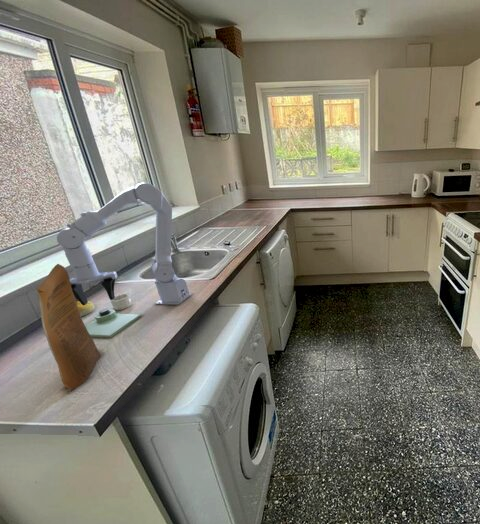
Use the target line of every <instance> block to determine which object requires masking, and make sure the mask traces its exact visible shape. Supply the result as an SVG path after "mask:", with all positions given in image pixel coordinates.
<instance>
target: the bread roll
mask: <svg viewBox="0 0 480 524" xmlns="http://www.w3.org/2000/svg"><path fill="white" fill-rule="evenodd" d="M87 301H88V303H87V304H86V305H82V304H81V303H80V302H79V301H78V300H76V302H77V307H78V310H79V312H80V315H81V318H82V317H84V316H87V315H88V314H90V313H92V312H93V311H94V310H95V304H94V303H93V302H92V301H89V300H87Z"/></svg>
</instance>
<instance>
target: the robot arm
mask: <svg viewBox="0 0 480 524" xmlns="http://www.w3.org/2000/svg"><path fill="white" fill-rule="evenodd" d="M139 201H140V202H142V203H145V204H146V205H149V206H150V207H151V208H152V209H153V210H154V211H155V253H154V260H153V262H152V264H151V266H150V267H151V268H150V269H151V271H152V272H153V277H154V280H153V281H154V284H155V287H156V290H157V294H158V296H159V300H158V301H156V302H155V305H176V306H177V305H180V304H181V303H182V302H184V301H185V300H186V299H188V298H189V297H190V296H192V293H190V291H189V288H188V284H187V282H186V280H185V279H184V278H180V277H178V276H177V274H176V273H175V270H174V268H173V260H172V225H173V223H172V222H173V207H172V205H171V204H170V202H169V201H168V199H167V198H166V196H165V195H164V194H163V192H162V191H161V190H160V189H159V188H158V187H156V186H155V185H153V184H152V183H150V182H147V181H139V182H137V183H136V184H135V185H132V186H130V187H127V188H126V189H125V190H123V191H121V192H119V194H117V195H116V196H115V197H114V198H112V199H111V200H110V201H108V202H107V203H106V204H105V205H103V206H102V207H101V208H99V209H98V210H88V211H87V212H86V211H83V212H82V213H80V217H78V218H77V219H75V220H74V221H73V222H71V223H70V222H68V223H67V224H66V227H64V228H62V229H61V230H60V231H59V232H58V234H57V236H56V242H57V243H58V245H59V246H60V247H62V250H63V252H64V255H65V257H66V259H67V262H68V264H69V267H70V268H71V270H72V273H73V274H74V276H75V277H72V278H69V279H70V283H71V287H72V291H73V294H74V296H75V299H76V301H79V302H80V303H81V304H82V305H86V304H87V303H88V301H89V300H88V298H87V297H86V294H85V292H84V288H83V285H84V284H88V283H95V282H100V281H102V282H101V286H102V287H103V288H104V289H105V292H106V293H107V296H108V299H109V301H110V300H113V299H114V298H115V296H116V295H115V283H116V279H117V278H118V274H117V271H107V272H105V271H104V272H99V269H98V267H97V265H96V262H95V260H94V258H93V256H92V252H91V251H90V249H89V247H88V246H87V243H86V241H85V239H88V238H90V237H92V236H93V235H95V234H96V233H97V232H98V231H100V230H101V229H102V228H104V227H105V226H107V225H108V223H107V219H108V218H109V217H111V216H113V215H114V214H115V213H117V212H119V211H120V210H122V209H123V208H124V207H126V206H127V205H130V204H131V205H133V204H139Z"/></svg>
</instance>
